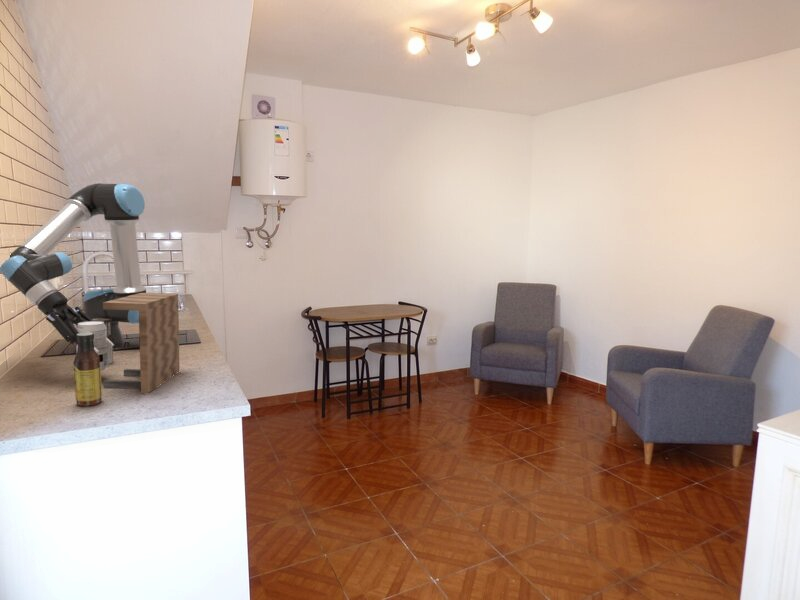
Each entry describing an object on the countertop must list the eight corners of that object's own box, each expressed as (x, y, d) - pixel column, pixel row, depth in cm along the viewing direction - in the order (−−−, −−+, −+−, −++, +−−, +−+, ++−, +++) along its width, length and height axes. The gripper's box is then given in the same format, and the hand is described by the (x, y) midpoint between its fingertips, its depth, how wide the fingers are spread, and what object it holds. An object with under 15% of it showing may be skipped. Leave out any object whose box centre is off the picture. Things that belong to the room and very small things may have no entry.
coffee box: (98, 361, 181) (97, 317, 179) (114, 362, 180) (112, 318, 178) (77, 367, 172) (75, 321, 170) (93, 369, 171) (91, 323, 169)
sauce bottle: (83, 399, 141) (80, 330, 139) (106, 399, 142) (103, 331, 139) (70, 407, 135) (66, 335, 132) (94, 407, 135) (91, 335, 133)
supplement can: (76, 374, 152) (74, 326, 151) (79, 367, 160) (77, 321, 158) (107, 372, 156) (105, 324, 154) (108, 365, 163) (106, 320, 161)
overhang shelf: (133, 370, 171) (130, 292, 167) (179, 371, 172) (178, 293, 168) (94, 392, 147) (90, 302, 143) (148, 394, 148) (145, 303, 144)
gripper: (60, 302, 165) (112, 351, 168) (15, 312, 144) (74, 367, 147) (76, 286, 165) (128, 336, 168) (33, 294, 144) (92, 350, 147)
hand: (103, 350), depth 157 cm, fingers closed on supplement can, 8 cm apart
